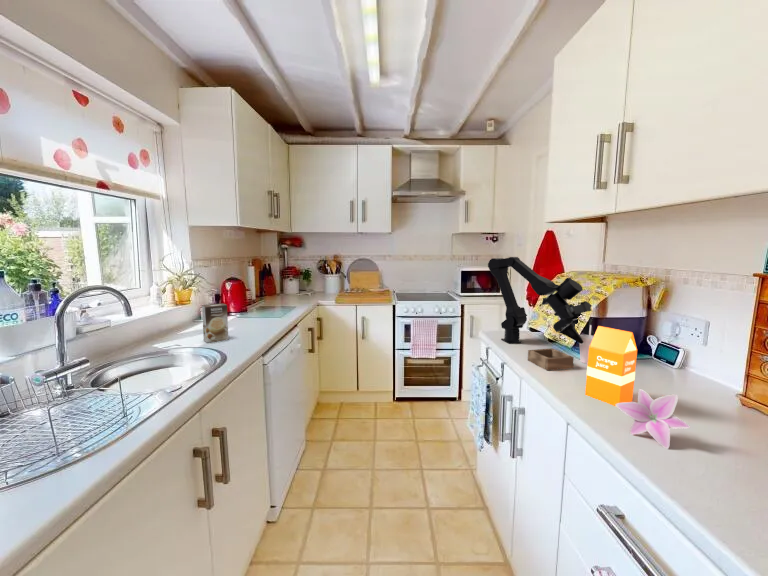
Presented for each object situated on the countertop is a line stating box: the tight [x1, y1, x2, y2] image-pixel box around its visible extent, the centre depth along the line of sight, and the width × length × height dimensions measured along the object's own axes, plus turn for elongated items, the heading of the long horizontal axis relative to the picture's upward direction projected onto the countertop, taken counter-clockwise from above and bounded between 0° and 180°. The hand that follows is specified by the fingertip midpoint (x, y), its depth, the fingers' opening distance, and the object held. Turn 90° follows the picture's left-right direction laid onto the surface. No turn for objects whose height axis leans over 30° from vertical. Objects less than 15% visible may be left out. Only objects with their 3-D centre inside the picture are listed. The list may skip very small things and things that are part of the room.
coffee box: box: [201, 303, 229, 344], centre depth 149 cm, size 9×6×16 cm
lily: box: [614, 388, 691, 450], centre depth 75 cm, size 12×12×10 cm
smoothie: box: [578, 324, 594, 365], centre depth 122 cm, size 6×6×14 cm
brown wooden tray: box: [527, 347, 574, 371], centre depth 120 cm, size 10×10×4 cm
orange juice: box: [584, 325, 638, 407], centre depth 92 cm, size 8×9×20 cm
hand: (588, 341), depth 121 cm, fingers open, 9 cm apart
